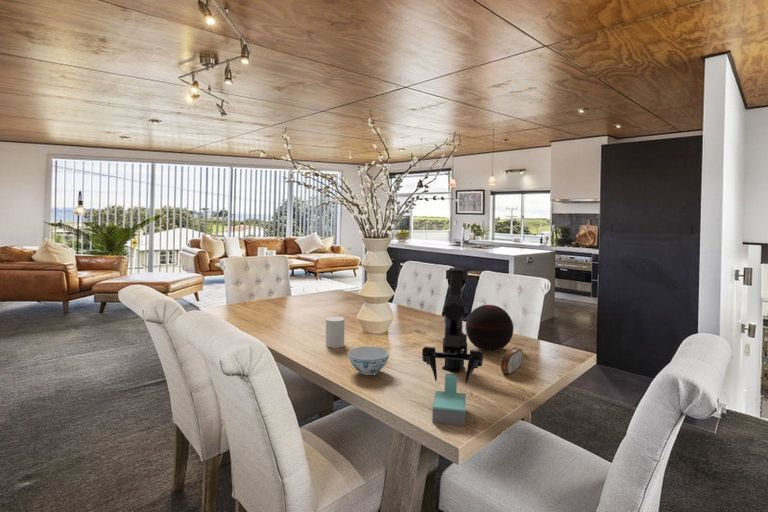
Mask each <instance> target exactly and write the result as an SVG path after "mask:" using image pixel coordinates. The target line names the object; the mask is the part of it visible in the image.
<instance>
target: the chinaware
mask: <svg viewBox="0 0 768 512" xmlns="http://www.w3.org/2000/svg"><path fill="white" fill-rule="evenodd" d="M389 356H390V351H389V350H388V349H386V348H383V347H380V346H373V345H372V346H371V345H370V346H369V345H368V346H366V345H365V346H358V347H354V348H351V349H350V350H349V351H348V358H349V361H350V363H351V366H353V368H354V369H355V370H357V371H358V372H360V373H361V374H364V375H374V374H376V375H378V373H379V372H380V371H381V370H382V369H383V368H384V367H385V366H386V364H387V362H388V360H389ZM360 373H359V374H360ZM361 374H360V375H361ZM374 376H375V375H374Z"/></svg>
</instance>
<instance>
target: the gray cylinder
mask: <svg viewBox="0 0 768 512" xmlns="http://www.w3.org/2000/svg"><path fill="white" fill-rule="evenodd" d="M325 346H327V347H326V348H329V347H332V348H331V349H340V348H339V347H341V348H343V347H345V318H344V317H342V316H329V317H326V318H325ZM342 346H343V347H342Z"/></svg>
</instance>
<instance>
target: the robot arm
mask: <svg viewBox="0 0 768 512" xmlns="http://www.w3.org/2000/svg"><path fill="white" fill-rule="evenodd" d="M468 278H469V271H468V270H466V269H465V268H463V267H460V268H459V267H449V269H446V270H445V280H447V285H448V287H449V296H448V298H447V299H446V300H445V305H443V308H442V314H441V315H442V317H444V325H445V326H444V337H443V338H442V351H436V347H433V346H431V347H430V346H424V347H423V348H422V352H421V354H422V355H421V356H422V362H424V363H426V365H427V366H428V365H429V366H430V368H431V372H432V373H433V377H434V382H437V380H438V377H437V376H438V374H437V359H444V366H442V368H441V369H443V370H445V371H446V370H447V371H450V372H453V373H458V372H461V371H463V370H464V369H466V374H465V375H466V376H465V384H467V385H468V382H469V380H470V377H471V375H472V373H474V370H475V369H478V368H479V367H482V366H483V361H484V360H483V359H484V353H483V350H475V349H474V350H473V349H470V350H469V353H468V342H467V338H468V336H467V333H465V334H464V332H463V321H464V319H466V317H469V315H468V311H469V310H468V309H467V307H466V306H465V300H464V299H463V298H462V292H463V289H464V288H465V287H466V286H467V285H466V284H467V283H466V281H468V280H469V279H468ZM465 361H468V362H467V368H466V367H465V364H464V363H465Z"/></svg>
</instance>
